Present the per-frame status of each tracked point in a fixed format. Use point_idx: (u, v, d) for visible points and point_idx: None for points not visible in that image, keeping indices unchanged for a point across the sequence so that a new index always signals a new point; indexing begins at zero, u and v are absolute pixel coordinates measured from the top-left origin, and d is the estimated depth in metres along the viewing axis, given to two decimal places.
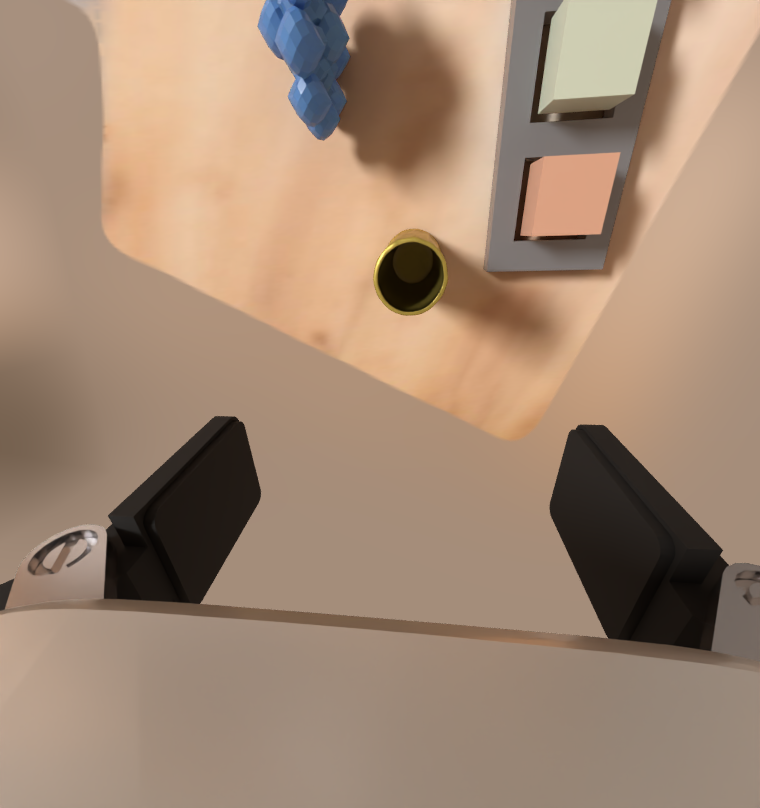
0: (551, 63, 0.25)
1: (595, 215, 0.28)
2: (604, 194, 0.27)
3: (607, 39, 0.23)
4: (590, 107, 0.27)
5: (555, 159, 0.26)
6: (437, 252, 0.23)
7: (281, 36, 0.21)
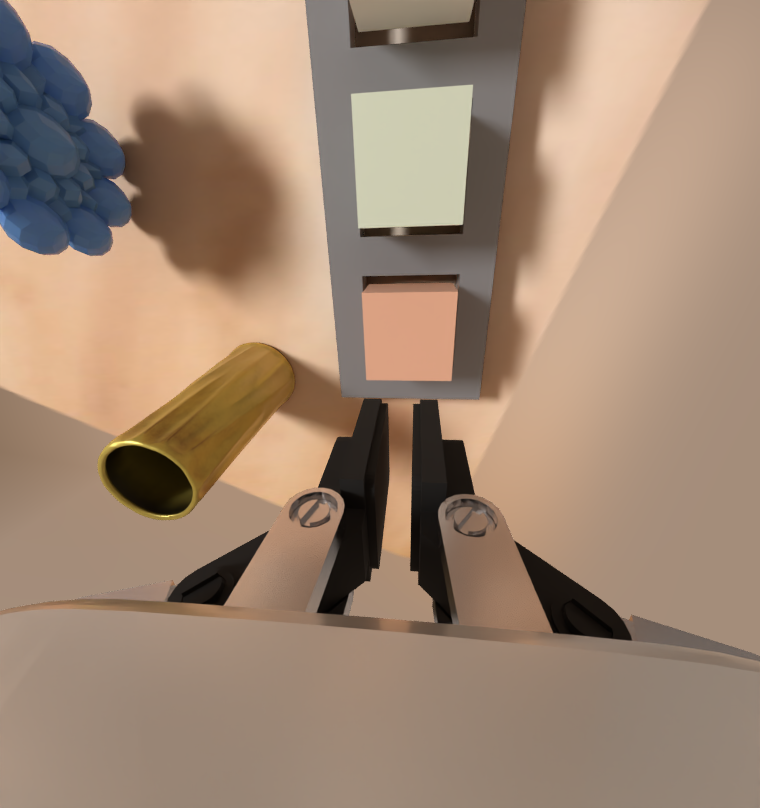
0: None
1: (440, 360, 0.21)
2: (447, 338, 0.21)
3: (412, 158, 0.17)
4: None
5: (376, 297, 0.20)
6: (170, 458, 0.16)
7: None
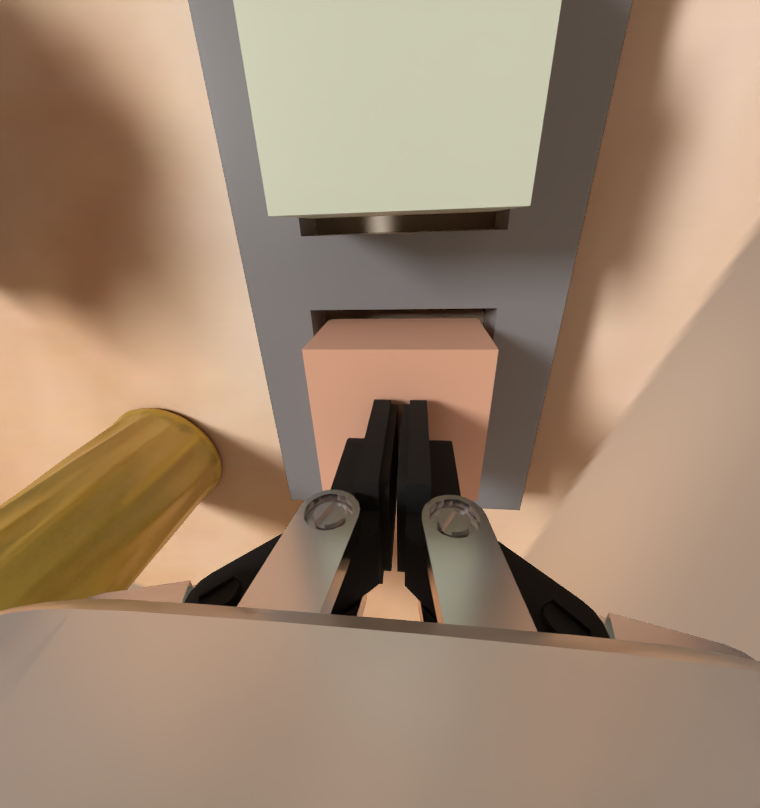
0: None
1: (458, 468, 0.11)
2: (472, 432, 0.11)
3: (399, 9, 0.06)
4: None
5: (332, 357, 0.10)
6: None
7: None
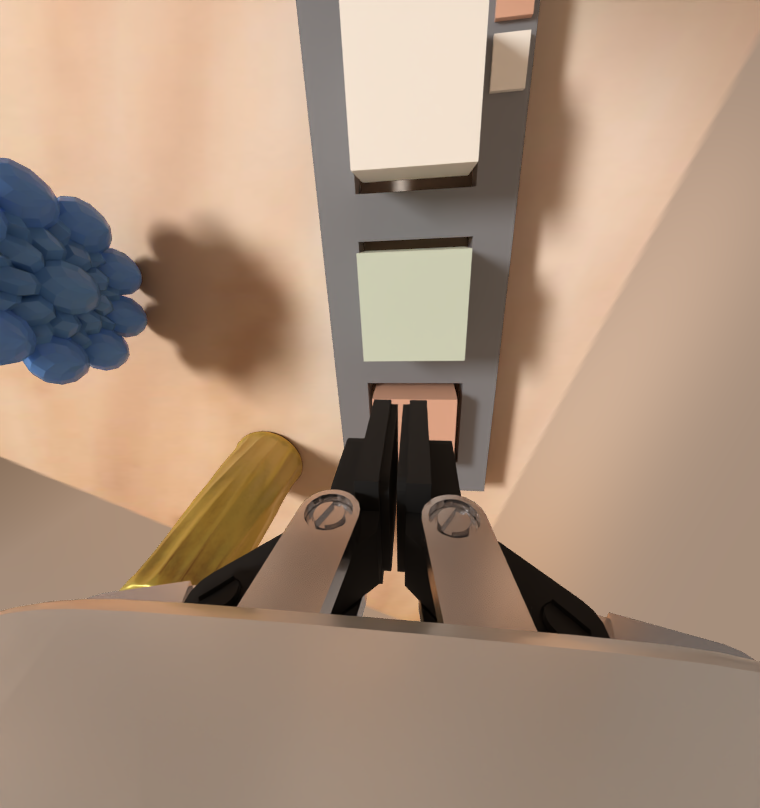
0: None
1: None
2: (448, 435, 0.23)
3: (415, 305, 0.17)
4: None
5: None
6: None
7: None
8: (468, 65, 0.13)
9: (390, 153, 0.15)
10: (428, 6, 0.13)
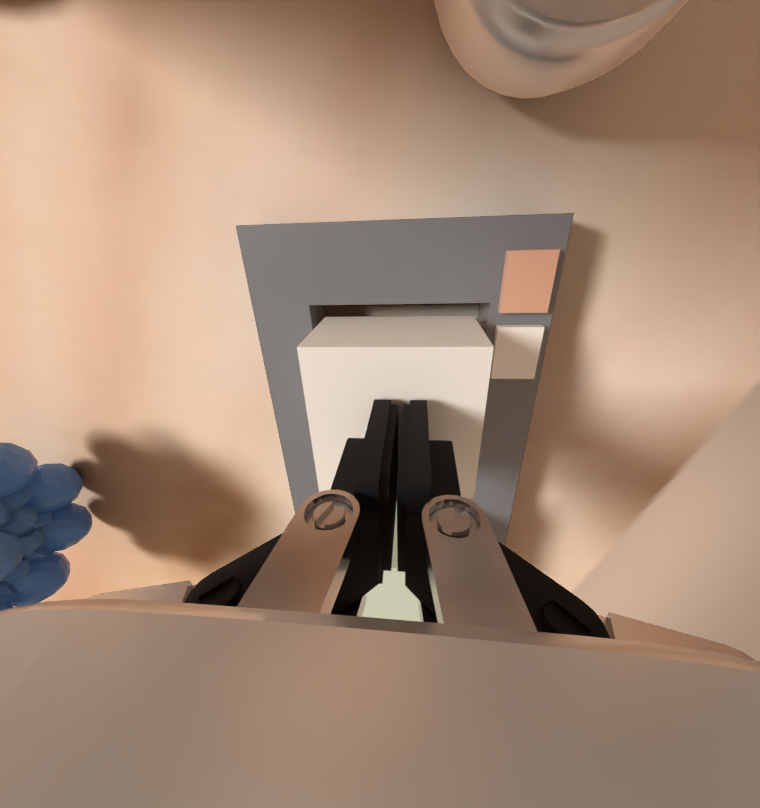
0: None
1: None
2: None
3: (398, 607, 0.15)
4: None
5: None
6: None
7: None
8: (463, 422, 0.11)
9: None
10: (412, 368, 0.10)
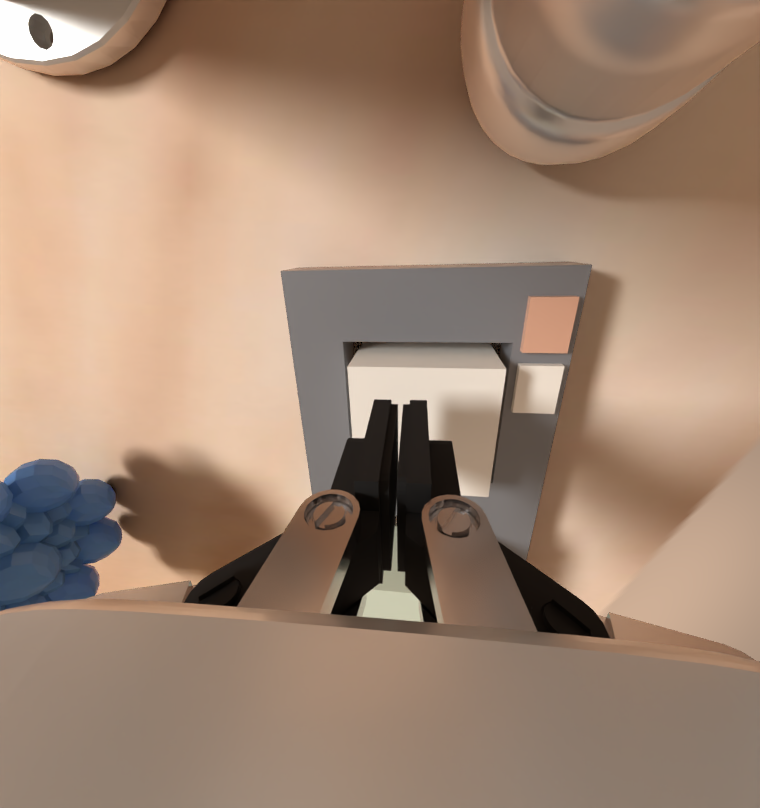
0: None
1: None
2: None
3: None
4: None
5: None
6: None
7: None
8: (480, 430, 0.13)
9: None
10: (440, 385, 0.12)
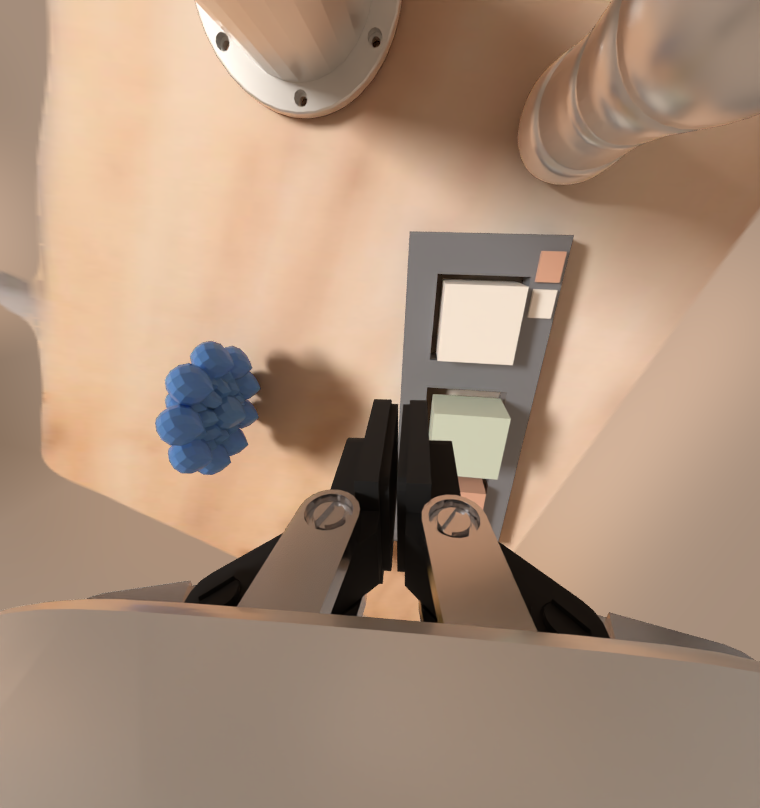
0: None
1: None
2: None
3: (469, 445, 0.26)
4: None
5: None
6: None
7: (170, 462, 0.24)
8: (512, 322, 0.24)
9: (462, 355, 0.25)
10: (493, 295, 0.23)
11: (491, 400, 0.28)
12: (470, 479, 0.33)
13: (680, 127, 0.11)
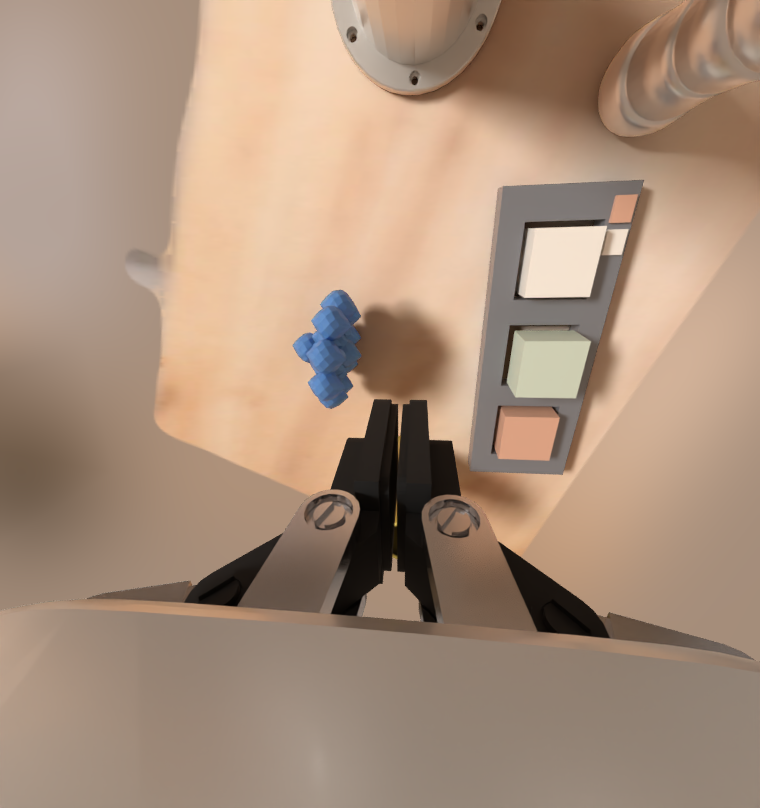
0: (514, 366, 0.33)
1: (544, 450, 0.38)
2: (550, 439, 0.37)
3: (553, 368, 0.31)
4: None
5: (513, 418, 0.36)
6: None
7: (314, 390, 0.29)
8: (591, 259, 0.29)
9: (546, 291, 0.30)
10: (576, 235, 0.28)
11: (567, 331, 0.32)
12: (542, 408, 0.38)
13: None
